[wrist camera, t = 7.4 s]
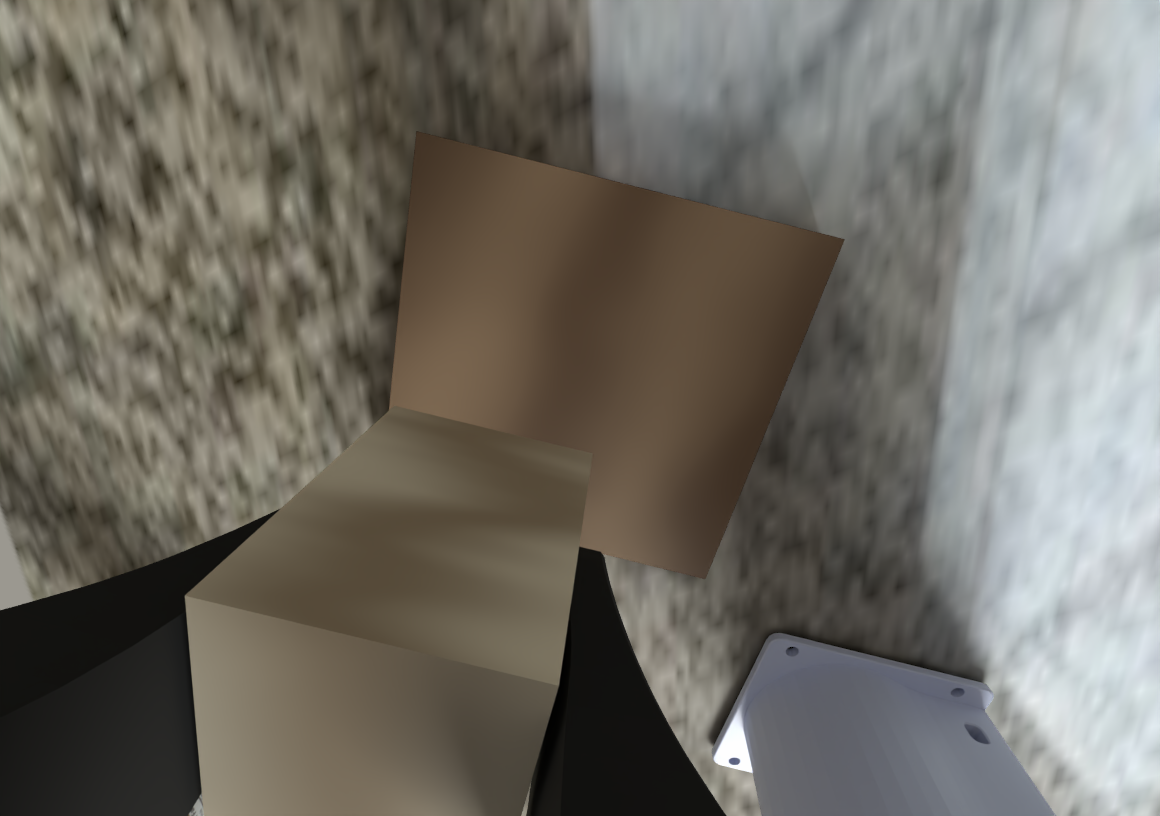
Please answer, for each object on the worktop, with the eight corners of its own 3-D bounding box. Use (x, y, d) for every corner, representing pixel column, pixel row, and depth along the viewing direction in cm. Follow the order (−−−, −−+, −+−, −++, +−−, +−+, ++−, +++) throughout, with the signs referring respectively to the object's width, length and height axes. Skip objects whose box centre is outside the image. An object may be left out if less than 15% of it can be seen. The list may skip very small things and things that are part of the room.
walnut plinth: (820, 233, 16) (844, 239, 15) (698, 545, 21) (705, 579, 19) (440, 137, 16) (416, 131, 14) (402, 471, 21) (380, 498, 19)
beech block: (592, 453, 12) (558, 686, 6) (552, 607, 14) (497, 895, 8) (394, 405, 12) (185, 595, 6) (379, 565, 14) (204, 825, 8)
